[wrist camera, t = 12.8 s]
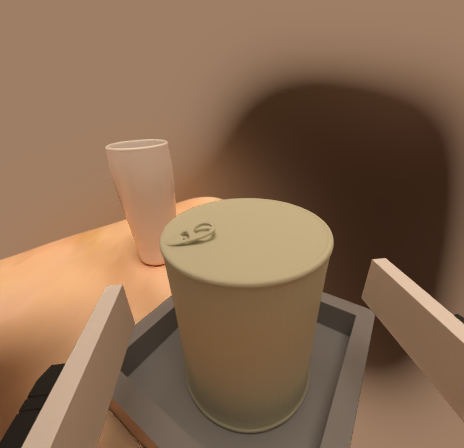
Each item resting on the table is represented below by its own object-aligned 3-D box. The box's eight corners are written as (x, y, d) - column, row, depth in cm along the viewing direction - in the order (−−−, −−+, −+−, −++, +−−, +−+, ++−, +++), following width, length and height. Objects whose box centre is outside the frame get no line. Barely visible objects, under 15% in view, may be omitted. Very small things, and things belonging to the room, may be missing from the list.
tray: (99, 397, 17) (83, 367, 16) (223, 279, 28) (221, 254, 27) (306, 630, 9) (318, 617, 8) (365, 341, 20) (375, 311, 19)
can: (177, 330, 21) (152, 203, 15) (271, 301, 23) (278, 184, 18) (200, 464, 13) (164, 302, 8) (338, 399, 16) (384, 243, 10)
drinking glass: (131, 274, 30) (95, 150, 23) (138, 246, 36) (111, 141, 29) (186, 266, 31) (168, 145, 24) (183, 240, 37) (168, 137, 30)
